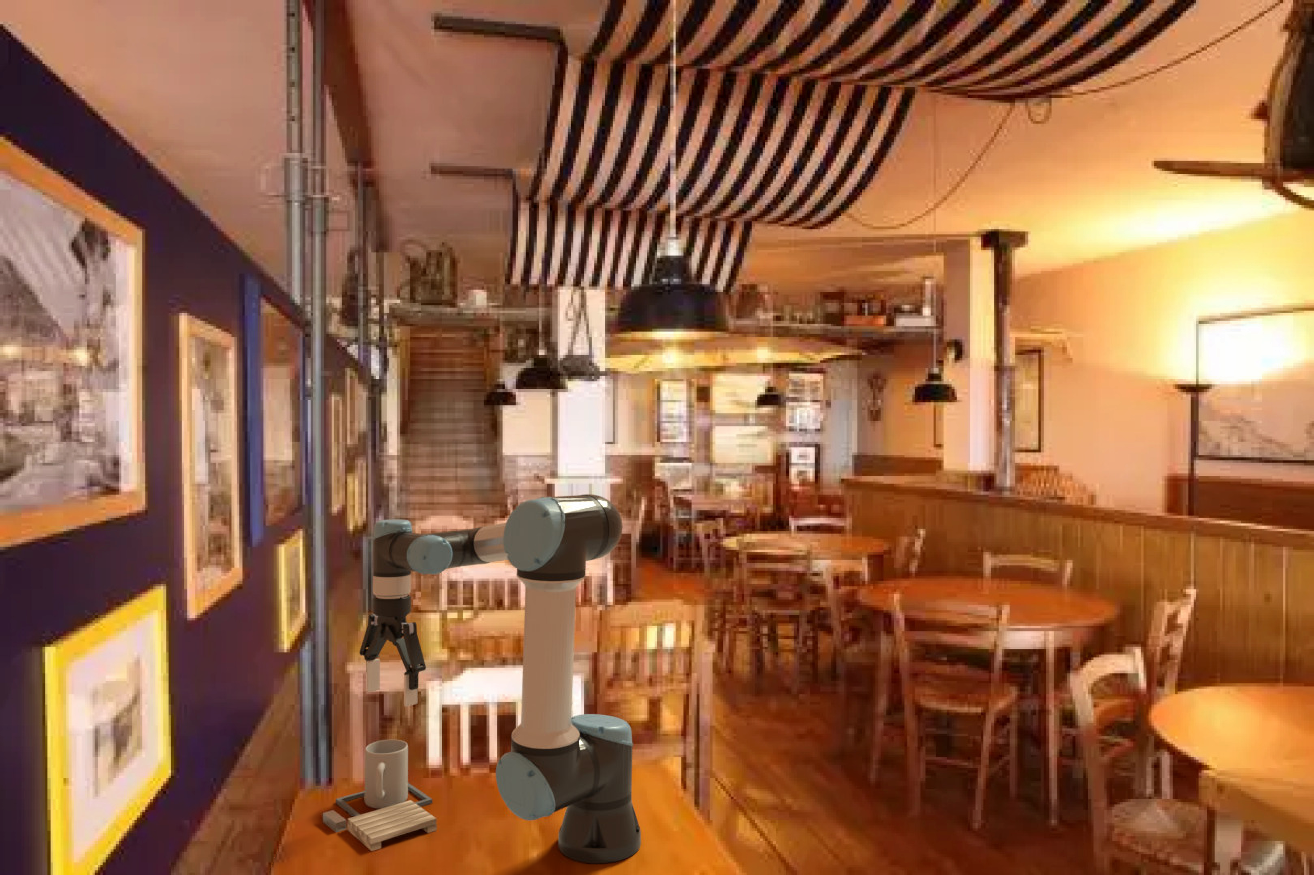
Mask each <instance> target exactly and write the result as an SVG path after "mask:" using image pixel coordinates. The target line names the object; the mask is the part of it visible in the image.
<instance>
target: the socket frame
mask: <svg viewBox="0 0 1314 875" xmlns="http://www.w3.org/2000/svg"><path fill="white" fill-rule="evenodd" d="M408 792H411V793H412V794H414V796H416V797H418V798H419V799H421V800H419V801H416V802H414V803H415V804H417V805H418V806H420V807H421V808H422V807H424V806H428V805H431V804H433V798H431V797H430V796H428V795H427V794H425V793H424V792H423V791H421V790H420V789H418V788H416V787H415V786H414V785H413V784H411V783H409V782H408ZM364 796H365V790H363V791H360V792H357V793H356V792H355V793H352V794H348V795H345V796H341V797H338V798H335V803H336V805H338V806H339V807H340V808H342V809H343V810H344V811H345V812H346V811H347V812H348V813H347V812H346V813H347V814H349V816H351V817H352V816H353V817H355V816H358V815H361V814H360V813H359V812H358V811H357V810H355V809H354V808H353V807H352V806H351V805H349V804H348V803H347V802H350V801H353V799H354V800H356V799H355V798H357V799H360V797H361V798H364ZM349 800H350V801H349Z"/></svg>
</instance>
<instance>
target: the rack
mask: <svg viewBox="0 0 1314 875" xmlns="http://www.w3.org/2000/svg"><path fill="white" fill-rule="evenodd" d="M437 826H438V824H437V817H435V816H433V814H431V813H429V812H428V811H426V810H425V809H424V808H422V806H421V807H420V806H418V805H417V804H415V802H414V801H413V800H412V799H409V800H406V801H405V802H403V803H399V804H396V805H393V806H389V807H386V808H378V809H376V810H372V811H369V812H366V813H361V814H360V815H358V816H355V817H352V816H351V817H349V818H347V823H346V830H347V831H348V832H349V833H350V834H351V835H353V837H355V838H356V839H357V840H358V841H360V843H362V844H363V846H365V847H366V848H368V850H369V851H371V852H373V851H376V850H379V849H382V842H383V841H387V840H390V839H392V838H395V837H399V836H401V835H406V834H407V833H411V832H414V831H418V830H420V829H422V830H423V831H425V832H426V833H427V834H428V833H429V834H430V833H432V832H435V831H438V830H437Z"/></svg>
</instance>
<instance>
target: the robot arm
mask: <svg viewBox="0 0 1314 875" xmlns="http://www.w3.org/2000/svg"><path fill="white" fill-rule="evenodd" d="M412 527H413V526H412V523H411V521H410V520H408V519H400V518H399V519H396V518H394V519H392V518H391V519H382V520H379V521H376V523H375V524H374V525H373V539H372V559H373V560H372V561H373V563H372V565H373V566H372V568H373V569H372V570H373V574H372V594H373V595H374V597H373V598H372V613H371V614H368V617H367V626H366V629H365V632H364V635H363V640H362V642H361V646H360V648H359V656H363V658H364V661H365V665H366V666H365V673H366V677H365V678H366V681H365V682H366V683H365V684H366V686H365V688H366V689H365V690H366V693H372V692H377V691H380V690H381V680H380V679H381V677H380V676H381V659H380V657H381V656H380V653H381V651H382V649H383V648H384V646H385V644H386V643H387V641H389V642H391V643H392V645H393V646H395V647H396V649H397V652H398V654H399V657H400V658H401V662H402V663H403V666H404V668H405V672H404V673H403V706H404V707H406V708H407V707H410V706H413V705H417V704H418V702H419V701H418V697H419V696H418V695H419V693H418V692H419V691H418V689H419V673H420V672H424V671H426V670H427V667H426V661H425V658H424V654H423V652H422V647H421V644H420V641H419V635H418V628H417V623H416V622H415V621H413V622H407V615H409V614H410V613H411V611H412V596H411V595H410V593H411V592H412V578H411V577H412V572H415V573H418V574H421V575H440V574H441V573H442V572H444V571H445V570H448V569H454V568H460V567H461V568H462V567H468V566H476V565H477V566H478V565H486V564H489V563H495V562H502V561H508V562H509V563H510V565H511V566H513V567H514V568H515V569H516V578H518V579H519V580H520V582H522V583H523V584H524V587H525V589H524V592H525V593H524V596H525V597H524V620H523V621H524V622H523V623H524V624H523V625H524V627H523V651H522V652H523V654H522V681H521V684H522V685H521V687H522V689H521V711H520V712H521V713H520V714H521V716H520V718H521V719H520V724H518V726H516V727H515V728H514V729H513V731H512V732H511V741H510V742H511V743H510V744H511V745H510V748H511V749H510V751H509V752H505V753H504V754H503V755H502V756H501V757H500V759H499V760H498V762H497V764H496V767H495V768H496V769H495V780H496V785H497V789H498V792H499V795H500V798H501V799H502V800H503V802H504V803H505V806H506V807H507V808H508V809H509V811H510V812H512V814H514V815H515V816H516V817H518V818H519V819H522V820H525V821H536V820H538V819H541V818H544V817H545V818H546V817H550V816H551V815H552V816H553V814H554V813H556V812H559V811H560V810H563V809H565V811H564V815H563V818H562V822H561V826H560V827H559V830H558V836H557V837H558V841H557V843H558V846H557V847H558V849H559V851H560V853H562V854H563V855H564V856H565V857H567V858H569V859H571V860H573V861H577V862H581V863H587V864H609V863H615V862H618V861H622V860H624V859H627V858H630V857H631V856H633V855H634V854H636V853H637V852H638V851H639V849H640V848H641V844H642V840H641V839H642V838H641V836H642V835H641V833H642V832H641V827H640V825H639V820H638V817H637V815H636V810H635V808H634V806H633V805H634V804H633V801H632V798H633V797H632V793H633V792H632V787H633V786H632V785H633V782H632V781H633V746H634V743H633V736H632V735H633V734H632V728H631V726H630V724H629V723H628V722H627V721H626V720H624V719H622V718H619V717H616V716H612V715H608V714H607V715H605V714H596V713H591V714H590V713H586V714H585V713H584V714H577V715H574V716H572V714H573V710H572V709H573V707H572V706H573V686H574V685H573V684H574V683H573V682H574V681H573V680H574V657H575V656H574V654H575V630H576V628H575V627H576V626H575V624H576V622H575V621H576V599H577V586H578V585H579V584H580V583H581V582H582V581H583V580H585V579H586V569H587V568H586V565H587V562H588V561H589V562H590V561H594V560H598V559H601V558H603V557H605V556H607V555H609V554H610V553H611V552H612V551H614V549H615V548H616V547H617V546H618V544H619V542H620V540H621V538H622V534H623V521H622V516H621V513H620V511H619V509H618V508H617V507H616V506H615V504H614V503H613V502H611V501H610V500H609V499H607V498H605V497H603V496H601V495H597V494H587V493H586V494H578V495H576V494H575V495H564V496H563V495H560V496H541V497H538V498H534V499H527V500H526V501H523V502H521V503H519V504H518V505H517V506H515V509H513V510H512V512H511V513H510V514H509V516H508V518H507V520H506V522H502V523H496V524H491V525H486V526H479V527H475V528H469V529H467V528H466V529H459V530H449V531H441V532H440V531H439V532H431V533H430V532H429V533H418V532H413V528H412Z"/></svg>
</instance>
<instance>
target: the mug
mask: <svg viewBox="0 0 1314 875" xmlns="http://www.w3.org/2000/svg"><path fill="white" fill-rule="evenodd" d="M408 770H409V746H408V743H407V742H406V741H405V740H400V739H381V740H377V741H373V742H372V743H369V744H368V745H366V747H365V751H364V791H365V796H364V797H363V799H364V804H365V805H366V806H367V807H369V808H371V809H382V808H386V807H389V806H393V805H396V804H399V803H403V802H406V801H408V800H407V799H408V797H409V790H408V783H409V779H408V778H409V776H408V775H409V771H408Z"/></svg>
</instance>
